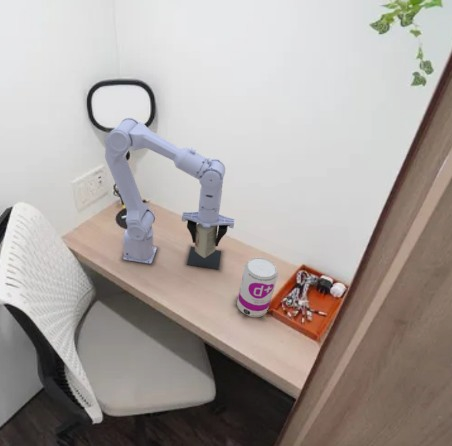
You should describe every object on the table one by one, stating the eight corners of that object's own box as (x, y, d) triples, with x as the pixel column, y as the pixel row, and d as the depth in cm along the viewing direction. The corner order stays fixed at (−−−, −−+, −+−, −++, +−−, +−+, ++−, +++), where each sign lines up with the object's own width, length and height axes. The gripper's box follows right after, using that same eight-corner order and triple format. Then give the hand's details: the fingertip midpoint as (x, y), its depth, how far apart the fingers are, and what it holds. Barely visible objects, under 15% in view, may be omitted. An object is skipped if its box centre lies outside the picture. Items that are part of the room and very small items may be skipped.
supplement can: (268, 320, 89) (281, 280, 80) (236, 316, 90) (245, 276, 81) (266, 297, 95) (277, 258, 86) (236, 293, 96) (244, 254, 88)
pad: (186, 264, 107) (186, 264, 106) (190, 246, 114) (191, 246, 114) (218, 269, 104) (218, 269, 104) (220, 251, 111) (221, 250, 111)
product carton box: (205, 244, 105) (207, 217, 99) (215, 251, 102) (219, 224, 96) (193, 251, 102) (195, 224, 96) (203, 258, 99) (206, 231, 93)
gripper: (180, 208, 91) (178, 247, 99) (235, 215, 87) (229, 255, 95) (185, 195, 96) (182, 232, 104) (237, 201, 93) (230, 239, 101)
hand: (205, 242), depth 100 cm, fingers closed on product carton box, 6 cm apart
